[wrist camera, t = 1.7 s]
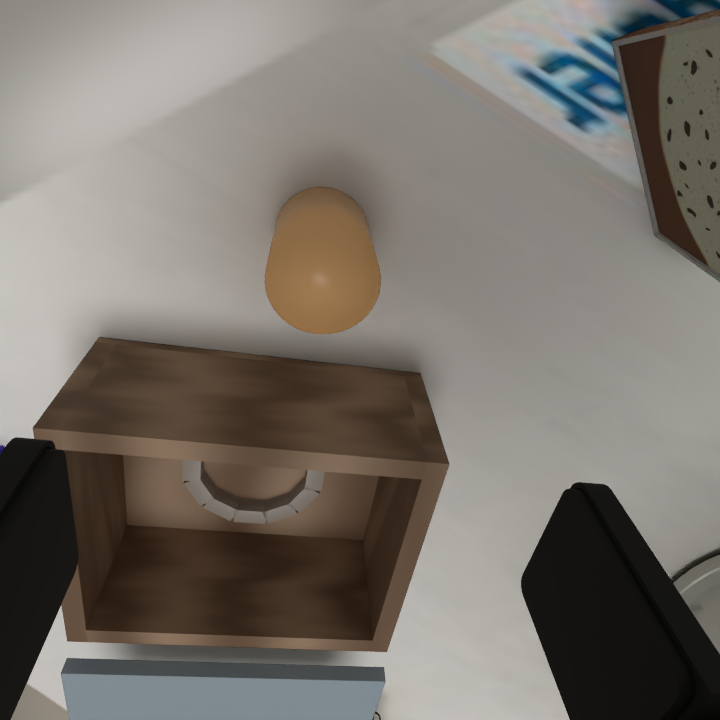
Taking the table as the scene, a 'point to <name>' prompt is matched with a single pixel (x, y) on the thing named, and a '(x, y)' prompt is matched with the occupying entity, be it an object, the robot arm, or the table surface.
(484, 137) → the table surface
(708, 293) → the table surface
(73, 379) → the housing
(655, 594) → the robot arm
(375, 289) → the peg
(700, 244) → the food container
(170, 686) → the lid
